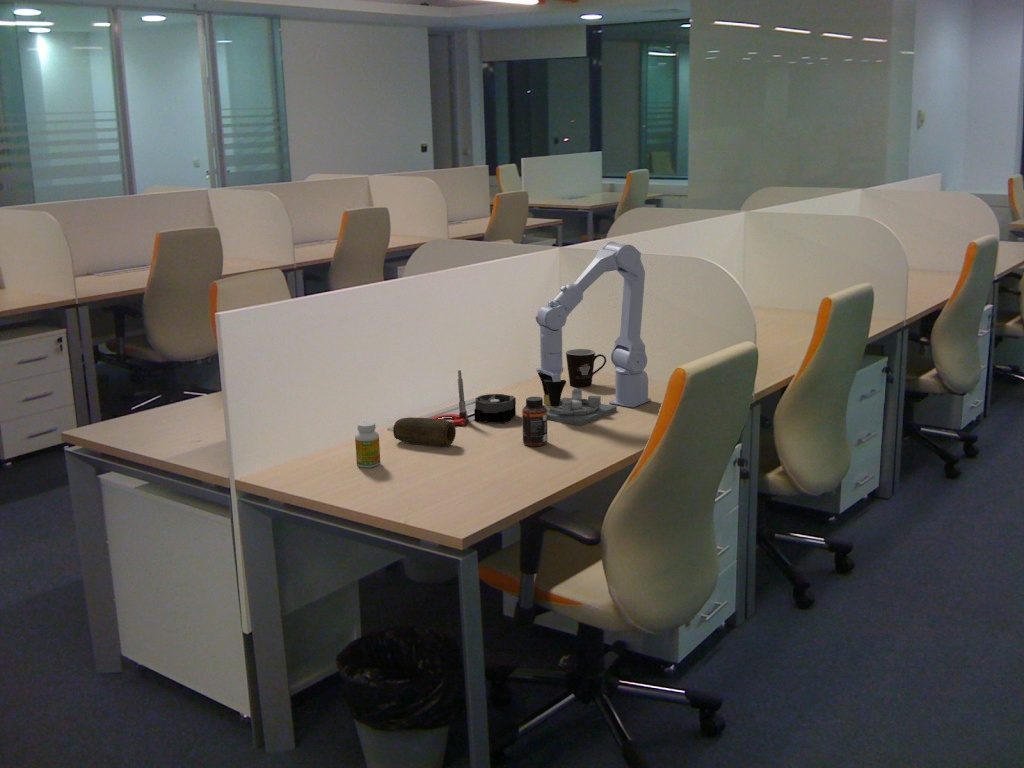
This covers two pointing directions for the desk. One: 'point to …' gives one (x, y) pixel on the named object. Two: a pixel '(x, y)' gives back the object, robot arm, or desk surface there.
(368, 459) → the supplement bottle
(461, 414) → the tow hook
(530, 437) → the supplement bottle
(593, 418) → the cap plate
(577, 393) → the ring nut
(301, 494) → the desk surface
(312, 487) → the desk surface
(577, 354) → the coffee mug
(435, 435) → the brown hollow cylinder
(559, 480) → the desk surface
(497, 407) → the cpu cooler
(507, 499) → the desk surface
